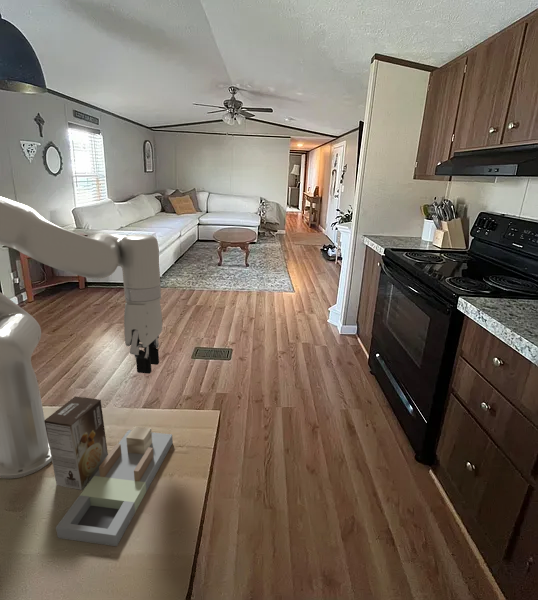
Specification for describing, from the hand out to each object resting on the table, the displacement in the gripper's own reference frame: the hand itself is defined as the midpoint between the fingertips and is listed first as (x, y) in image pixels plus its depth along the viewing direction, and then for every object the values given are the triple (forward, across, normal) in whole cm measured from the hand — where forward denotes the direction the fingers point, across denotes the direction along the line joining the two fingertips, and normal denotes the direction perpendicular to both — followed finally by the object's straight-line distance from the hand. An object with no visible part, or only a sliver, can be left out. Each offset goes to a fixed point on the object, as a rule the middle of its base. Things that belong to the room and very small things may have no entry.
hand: (148, 367), depth 87 cm
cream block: (+17, +7, 0) cm, 18 cm away
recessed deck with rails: (+19, +15, 0) cm, 24 cm away
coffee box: (+19, +14, -10) cm, 26 cm away
